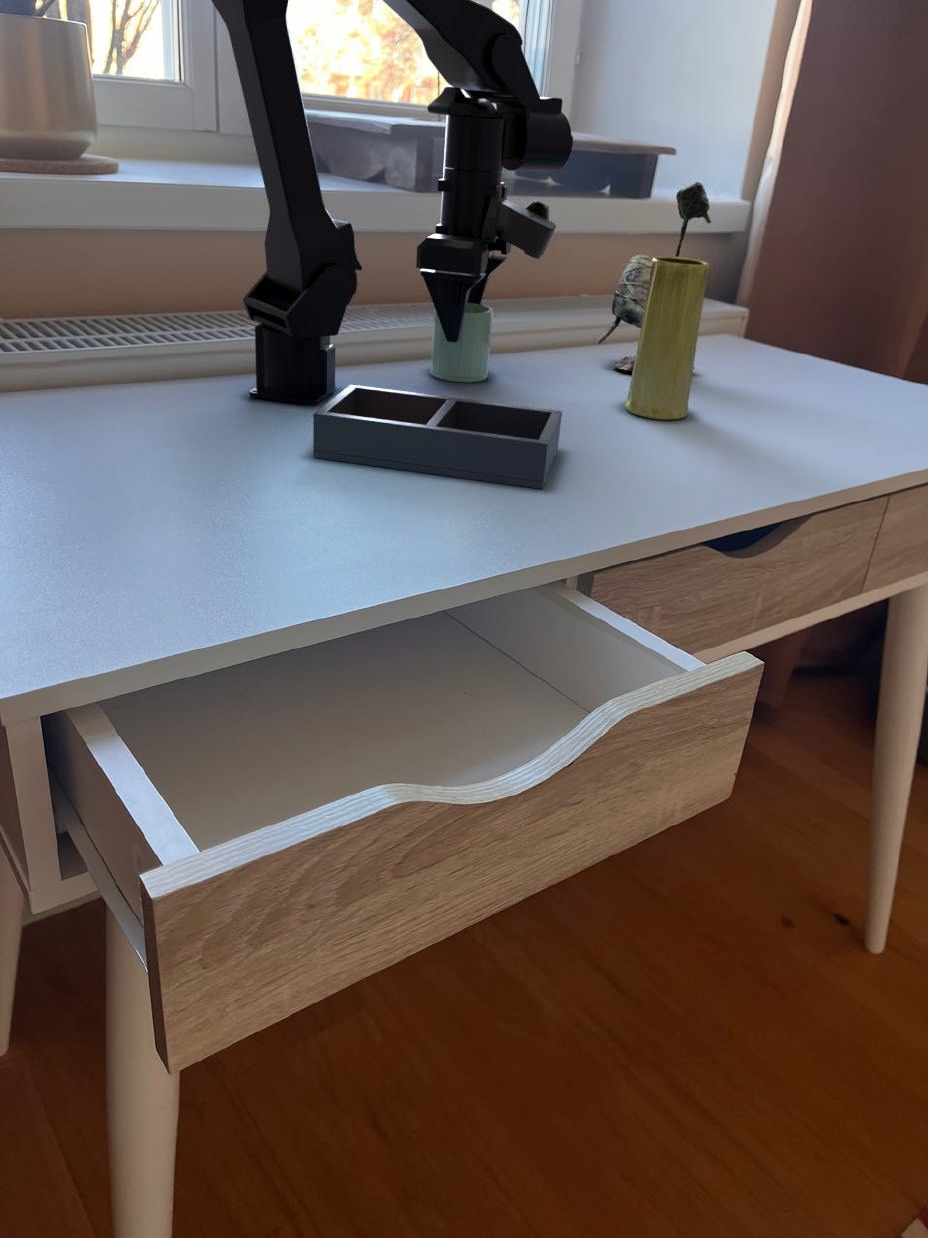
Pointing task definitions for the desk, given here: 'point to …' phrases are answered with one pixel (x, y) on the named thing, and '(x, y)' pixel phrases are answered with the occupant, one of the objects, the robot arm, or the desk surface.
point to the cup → (463, 347)
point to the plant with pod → (637, 272)
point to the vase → (668, 338)
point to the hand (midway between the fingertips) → (461, 333)
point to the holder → (438, 435)
